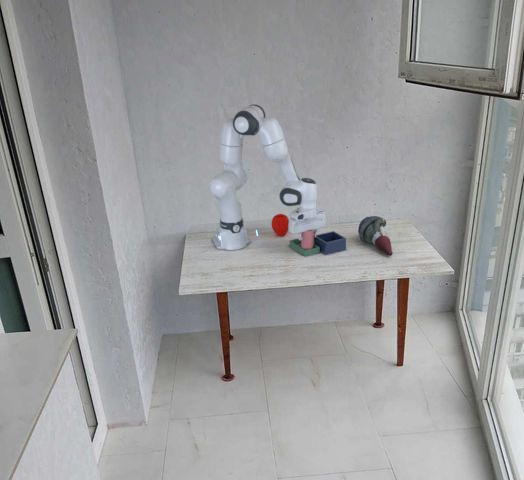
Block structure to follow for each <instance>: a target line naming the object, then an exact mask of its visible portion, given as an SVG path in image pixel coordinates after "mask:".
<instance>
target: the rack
mask: <svg viewBox="0 0 524 480" xmlns="http://www.w3.org/2000/svg"><path fill="white" fill-rule="evenodd" d="M289 247H291V248H292V249H294V250H295V251H296V252H298V253H299V254H301V255H302V256H304V257H308V256H312V255H317V254H320V253H321V251H320V247H318V246H316V245H315V244H314V243H313V248H312V249H303V248H301V241H300V240H299V238H295V239H290V240H289Z"/></svg>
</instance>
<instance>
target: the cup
mask: <svg viewBox="0 0 524 480" xmlns="http://www.w3.org/2000/svg"><path fill="white" fill-rule="evenodd" d="M314 231H315V230H311V231H305V232H301V236H302V237H303V240H301V244H300V245H301V248H303V249H305V250H309V249H312V248H313V244H314Z"/></svg>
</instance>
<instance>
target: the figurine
mask: <svg viewBox="0 0 524 480" xmlns="http://www.w3.org/2000/svg"><path fill="white" fill-rule="evenodd" d="M386 226H387V220H386V219H385V218H384V217H381V216H378V215H371V216H365V217H364V218H363V219H362V220H361V221H360V222H359V223H358V229H357V233H358V237H359V240H360V241H361V242H362V243H363V244H373V245H374V247H376V249H378V251H380V252H381V253H383V254H385V255H386V256H389V257H391V256H392V255H393V254H394V251H393V249H392V243H391V240H390V238H389V237H390V236H389V231H388V230H387V229H386Z"/></svg>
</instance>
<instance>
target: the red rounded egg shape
mask: <svg viewBox="0 0 524 480" xmlns="http://www.w3.org/2000/svg"><path fill="white" fill-rule="evenodd" d="M289 220H290V218H289V217H288V215H286V214H284V213H278V214H275V215H274V216H273V217H272V219H271V224H270V225H271V229H272V231H273V232H274V234H275V235H276V236H277V237H280V238H281V237H285V236H286V235H287V234H288V232H289V230H288V225H289Z"/></svg>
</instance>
